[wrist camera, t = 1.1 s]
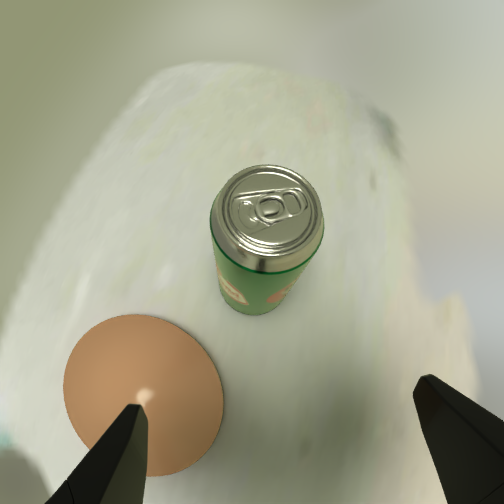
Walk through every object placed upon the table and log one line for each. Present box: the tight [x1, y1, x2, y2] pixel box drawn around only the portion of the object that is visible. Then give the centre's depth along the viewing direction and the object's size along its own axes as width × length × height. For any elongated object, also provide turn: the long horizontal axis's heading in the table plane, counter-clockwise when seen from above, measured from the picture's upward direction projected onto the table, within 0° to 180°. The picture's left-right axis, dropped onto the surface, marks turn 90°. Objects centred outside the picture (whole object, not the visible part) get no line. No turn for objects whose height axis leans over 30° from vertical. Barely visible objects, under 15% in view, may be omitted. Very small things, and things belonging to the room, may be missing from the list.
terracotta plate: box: [63, 315, 224, 477], centre depth 20 cm, size 12×12×2 cm
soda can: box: [210, 165, 324, 315], centre depth 18 cm, size 5×5×12 cm
